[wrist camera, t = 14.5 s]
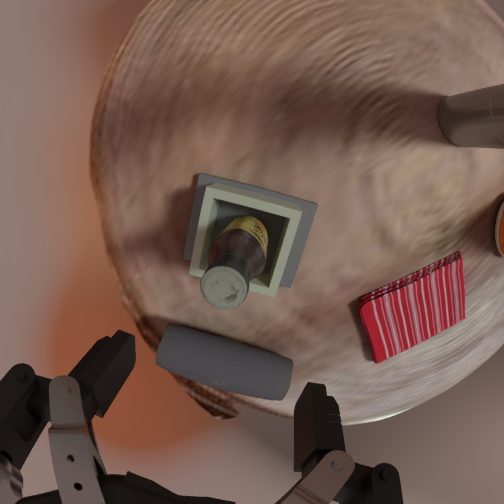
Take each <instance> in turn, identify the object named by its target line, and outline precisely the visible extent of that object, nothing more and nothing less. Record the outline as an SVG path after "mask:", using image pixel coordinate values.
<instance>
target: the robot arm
mask: <svg viewBox="0 0 504 504" xmlns="http://www.w3.org/2000/svg"><path fill="white" fill-rule="evenodd" d="M438 119H439V123H440V127H441V129H442V131H443V133H444V135H445V136H446V138H447V139H448V140H449V141H450V142H451V143H453V144H454V145H456V146H461V147H478V148H497V149H504V84H501V85H496V86H491V87H487V88H482V89H478V90H473V91H469V92H465V93H461V94H457V95H453V96H450V97H447V98H445V99H443V100H442V101H441V103H440V105H439V109H438ZM135 353H136V352H135V336H134V335H132V334H129V333H127V332H124V331H122V330H118V331H117V332H116V333H115V334H114V335H113V336H112V338H111V337H108V336H106V337H104V338H102V339H100V340H98V341H97V342H96V343H95V344H94V345H93V347H92V348H91V349H90V350H89V351H88V352H87V354H86V355H85V356H84V357H83V358H82V359H81V360H80V361H79V363H78V364H77V365H76V366H75V367H74V368H73V370H72V371H71V372H70V373H69V374H68V375H67V376H66V375H61V376H57V377H55V378H54V379H49V378H45V377H41V376H37V375H35V373H34V370H33V369H32V367H31V366H29V365H27V364H24V363H23V364H22V363H21V364H17V365H15V366H13V367H12V368H11V369H10V370H9V371H8V373H7V374H6V375H5V376H4V377H3V379H2V380H1V381H0V504H235V502H231V501H226V500H220V499H216V498H211V497H195V496H181V495H177V494H175V493H173V492H171V491H169V490H168V489H166V488H164V487H162V486H161V485H159V484H157V483H155V482H154V481H152V480H149V479H146V478H144V477H141V476H139V475H136V474H134V473H131V472H129V471H128V472H127V474H126V475H118V474H108V475H107V472H106V469H105V466H104V464H103V461H102V459H101V456H100V453H99V449H98V446H97V441H96V437H95V433H94V429H93V425H92V418H93V417H94V415H97V416H99V417H101V418H103V417H104V415H105V413H106V411H107V410H108V408H109V407H110V405H111V403H112V402H113V400H114V399H115V397H116V395H117V394H118V392H119V391H120V389H121V387H122V386H123V384H124V383H125V381H126V379H127V377H128V376H129V375H130V373H131V371H132V370H133V368H134V365H135V361H136V354H135ZM48 421H50V422H51V428H49V429H48V435H49V443H50V450H51V456H52V462H53V467H54V472H55V476H56V481H57V485H58V489H57V490H54V491H50V492H46V493H42V494H37V495H33V496H28V497H24V498H23V495H22V488H23V477H22V474H21V472H20V470H21V468H22V466H23V464H24V462H25V461H26V459H27V457H28V455H29V453H30V452H31V450H32V448H33V446H34V445H35V443H36V441H37V439H38V438H39V436H40V434H41V433H42V431H43V429H44V427H45V426H46V425H47V423H48ZM294 471H295V472H302V478H301V479H300V480H299V481H298V482H297V483H296V484H295V485H294V486H293V487H292V488H291V489H290V490H289V491H288V492H287V493H286V494H285V495H284V496H282V498H280V499H279V500H278V501H277V502H276V503H275V504H329V503H330V502H331V501H336V502H339V504H403V498H402V490H401V484H400V478H399V473H398V471H397V469H396V468H395V467H394V466H393V465H391V464H388V463H381V464H378V465H377V466H376V467H374V468H372V467H369V466H365V465H361V464H358V463H356V462H354V460H353V458H352V457H351V456H350V455H349V454H348V453H346V450H345V444H344V437H343V430H342V424H341V418H340V412H339V406H338V404H337V402H336V401H335V399H334V397H333V396H327V392H326V386H325V385H324V384H318V383H312V382H308V383H307V384H306V386H305V388H304V390H303V392H302V393H301V395H300V397H299V399H298V400H297V402H296V405H295V409H294Z"/></svg>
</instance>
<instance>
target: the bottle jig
mask: <svg viewBox="0 0 504 504" xmlns="http://www.w3.org/2000/svg"><path fill="white" fill-rule="evenodd" d="M317 206H318V204H317V203H314V202H310V201H307V200H304V199H300V198H297V197H293V196H290V195H286V194H283V193H279V192H276V191H272V190H268V189H265V188H261V187H257V186H253V185H249V184H245V183H241V182H237V181H233V180H229V179H225V178H221V177H217V176H212V175H208V174H204V173H199V178H198V182H197V187H196V191H195V196H194V201H193V206H192V211H191V216H190V221H189V226H188V232H187V237H186V243H185V249H184V254H183V259H185V260H188V261H191V265H190V271H189V274H191V275H194V276H198V277H201V278H202V276H203V274H204V273H205V271H206V270H207V268H208V256H209V252H210V249H211V247H212V245H213V244H214V242H215V241H216V239H217V238H218V237H219V235H220V234H221V233H222V232H223V231H224V230H225V229H226V227H227V226H228V225H229V224H230V223H231V222H232V221H233V220H234V219H236V218H237V217H240V216H245V215H248V216H253V217H255V218H257V219H259V220H261V221H262V222H263V224H264V225H265V226H266V228H267V231H268V246H267V254H266V261H265V266H264V269H263V271H262V272H261V274H260V275H259V276H257V277H256V278H254V279H253V280H251V281H249V291H252V292H256V293H260V294H263V295H267V296H271V297H275V296H276V293H277V290H278V287H279V285H280V286H284V287H288V288H291V285H292V282H293V279H294V276H295V273H296V270H297V267H298V264H299V261H300V258H301V255H302V252H303V249H304V246H305V243H306V240H307V237H308V234H309V231H310V228H311V225H312V222H313V218H314V215H315V212H316V209H317Z"/></svg>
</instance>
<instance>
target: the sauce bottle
mask: <svg viewBox="0 0 504 504" xmlns="http://www.w3.org/2000/svg"><path fill="white" fill-rule="evenodd" d="M267 246H268V231H267V228H266V226H265V225H264V224H263V222H262V221H261V220H259V219H257V218H255V217H253V216H248V215H245V216H240V217H237V218H236V219H234V220H233V221H232V222H231V223H230V224H229V225H228V226H227V227H226V229H225V230H224V231H223V232H222V233H221V234H220V235H219V237H218V238H217V239H216V241H215V242H214V244H213V245H212V247H211V249H210V252H209V256H208V268H207V270H206V271H205V273H204V274H203V276H202V278H201V282H200V288H201V292H202V295H203V297H204V298H205V300H206V301H207V302H208V303H210V304H211V305H212V306H214V307H216V308H219V309H232V308H235V307H237V306H239V305H240V304H241V303H242V302H243V301H244V300H245V298H246V296H247V294H248V291H249V281H251V280H253V279H254V278H256V277H257V276H259V275H260V274H261V272H262V271H263V269H264V266H265V261H266V254H267Z"/></svg>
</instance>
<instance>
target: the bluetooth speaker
mask: <svg viewBox="0 0 504 504" xmlns="http://www.w3.org/2000/svg"><path fill="white" fill-rule="evenodd" d="M156 365H158V366H160V367H162V368H164V369H166V370H168V371H170V372H172V373H175V374H177V375H180V376H183V377H185V378H188V379H190V380H193V381H196V382H199V383H202V384H205V385H208V386H211V387H215V388H218V389H222V390H225V391H229V392H233V393H237V394H242V395H246V396H251V397H256V398H262V399H268V400H279V401H280V400H282V399H283V398H284V397H285V396H286V394H287V392H288V390H289V387H290V381H291V376H292V369H293V361H292V359H289V358H287V357H284V356H281V355H278V354H275V353H271V352H268V351H265V350H262V349H259V348H256V347H252V346H249V345H246V344H244V343H241V342H238V341H235V340H231V339H228V338H224V337H221V336H215V335H212V334H208V333H205V332H201V331H197V330H194V329H190V328H187V327H183V326H180V325H175V324H168V325H167V327H166V330H165V333H164V335H163V337H162V340H161V342H160V345H159V347H158V350H157V354H156Z"/></svg>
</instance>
